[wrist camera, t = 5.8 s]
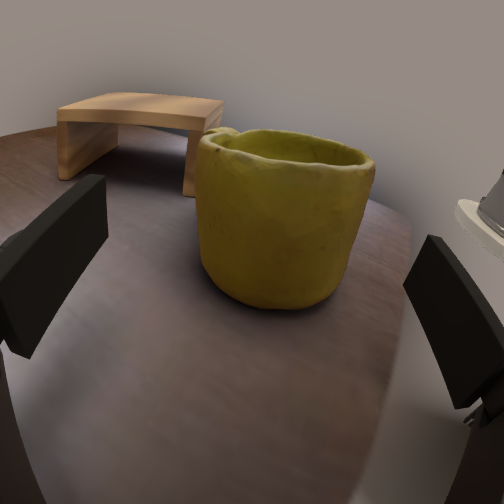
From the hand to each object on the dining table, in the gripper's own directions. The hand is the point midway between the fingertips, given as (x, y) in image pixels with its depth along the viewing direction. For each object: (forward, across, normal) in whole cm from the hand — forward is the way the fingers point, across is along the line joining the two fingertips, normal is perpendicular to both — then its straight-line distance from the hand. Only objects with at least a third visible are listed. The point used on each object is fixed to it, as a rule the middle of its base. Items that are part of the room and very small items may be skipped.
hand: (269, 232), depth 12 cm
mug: (+7, 0, -6) cm, 9 cm away
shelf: (+20, -12, -6) cm, 24 cm away
